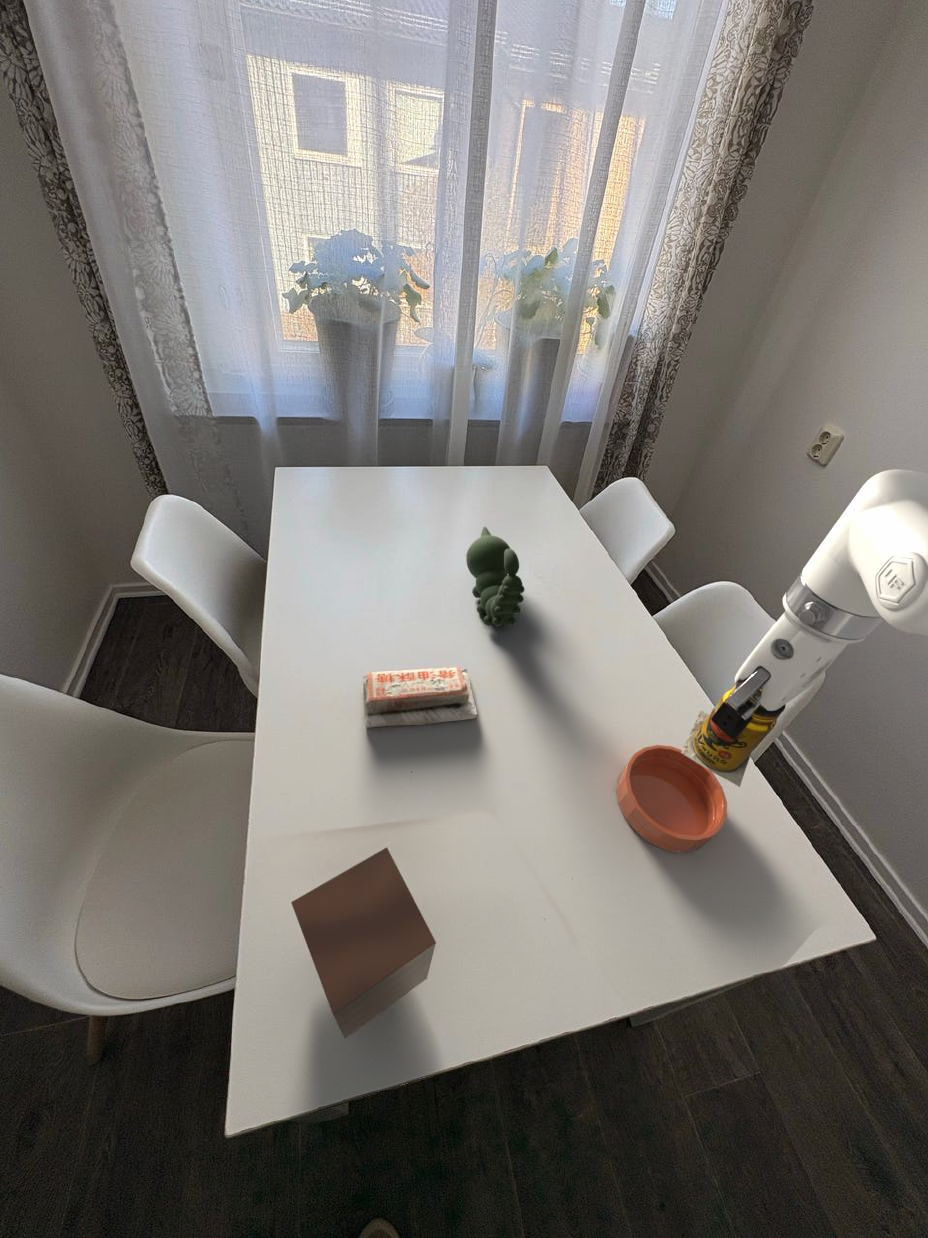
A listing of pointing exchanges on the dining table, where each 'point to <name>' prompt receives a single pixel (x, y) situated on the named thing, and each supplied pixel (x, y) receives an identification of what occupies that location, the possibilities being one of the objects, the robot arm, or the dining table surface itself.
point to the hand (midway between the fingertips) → (741, 716)
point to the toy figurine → (495, 579)
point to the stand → (365, 939)
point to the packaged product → (417, 697)
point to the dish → (671, 799)
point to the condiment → (728, 741)
